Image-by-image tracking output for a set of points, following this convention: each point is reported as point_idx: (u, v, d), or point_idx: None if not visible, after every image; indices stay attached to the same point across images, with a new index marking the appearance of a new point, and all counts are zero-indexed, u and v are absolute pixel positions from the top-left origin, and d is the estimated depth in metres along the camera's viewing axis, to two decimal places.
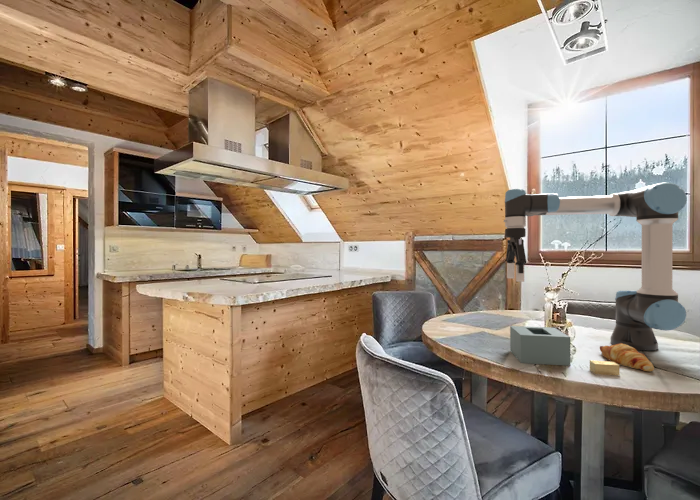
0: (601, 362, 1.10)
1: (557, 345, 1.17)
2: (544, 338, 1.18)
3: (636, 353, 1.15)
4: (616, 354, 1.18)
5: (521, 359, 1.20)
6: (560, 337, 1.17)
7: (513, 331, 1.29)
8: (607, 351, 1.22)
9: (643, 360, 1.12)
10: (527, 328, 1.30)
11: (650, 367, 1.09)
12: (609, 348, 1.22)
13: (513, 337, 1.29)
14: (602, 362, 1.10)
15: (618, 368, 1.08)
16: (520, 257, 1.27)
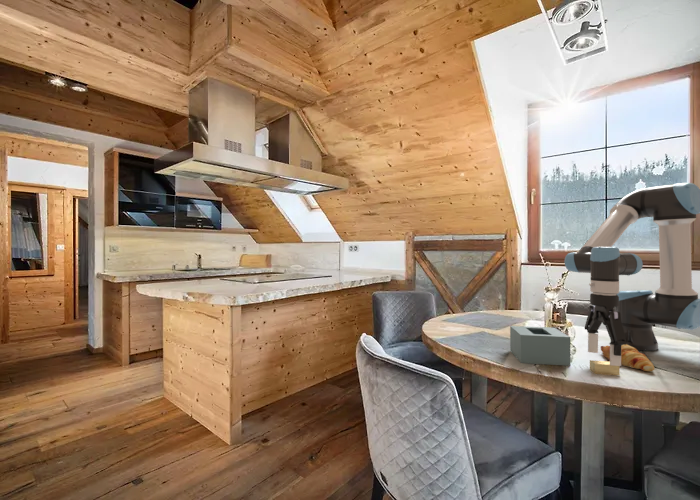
0: (601, 362, 1.10)
1: (557, 345, 1.17)
2: (544, 338, 1.18)
3: (637, 353, 1.15)
4: None
5: (521, 359, 1.20)
6: (560, 337, 1.17)
7: (513, 331, 1.29)
8: (608, 351, 1.22)
9: (643, 360, 1.12)
10: (527, 328, 1.30)
11: (650, 367, 1.09)
12: None
13: (513, 337, 1.29)
14: (602, 362, 1.10)
15: (618, 368, 1.08)
16: (618, 336, 1.01)
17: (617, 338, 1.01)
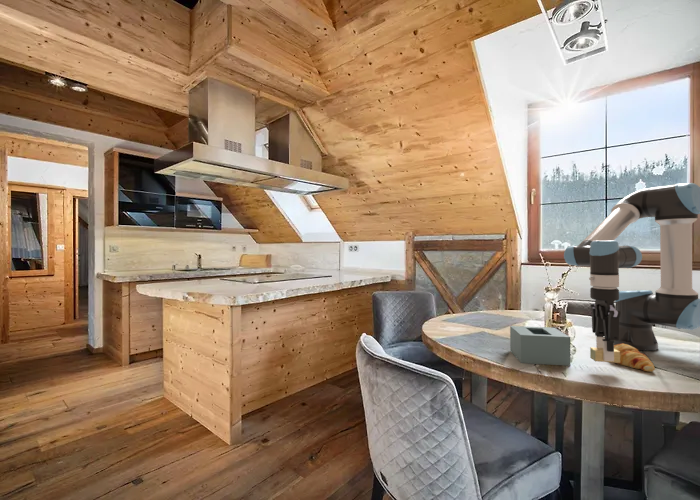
0: (602, 349, 1.10)
1: (557, 345, 1.17)
2: (544, 338, 1.18)
3: (637, 353, 1.15)
4: None
5: (521, 359, 1.20)
6: (560, 337, 1.17)
7: (513, 331, 1.29)
8: None
9: (644, 360, 1.11)
10: (527, 328, 1.30)
11: (651, 367, 1.09)
12: None
13: (513, 337, 1.29)
14: None
15: (618, 355, 1.08)
16: (612, 334, 1.05)
17: (610, 336, 1.05)
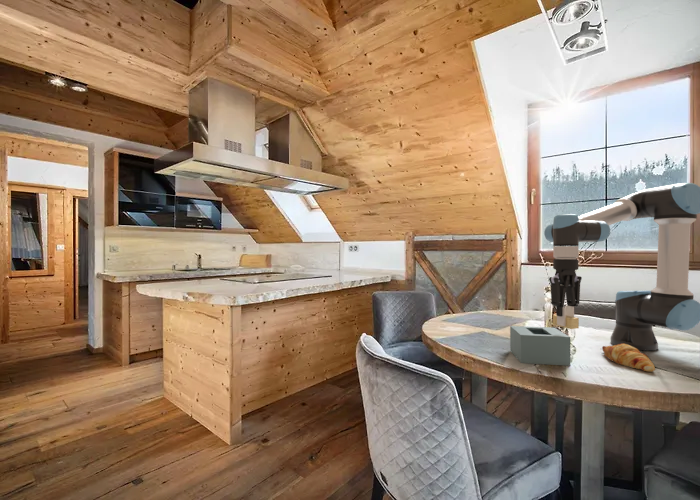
0: None
1: (557, 345, 1.17)
2: (544, 338, 1.18)
3: (637, 353, 1.15)
4: (618, 354, 1.18)
5: (521, 359, 1.20)
6: (560, 337, 1.17)
7: (513, 331, 1.29)
8: (609, 351, 1.22)
9: (644, 360, 1.11)
10: (527, 328, 1.30)
11: (651, 367, 1.09)
12: (611, 348, 1.22)
13: (513, 337, 1.29)
14: None
15: (570, 321, 1.15)
16: (552, 299, 1.17)
17: (551, 300, 1.17)
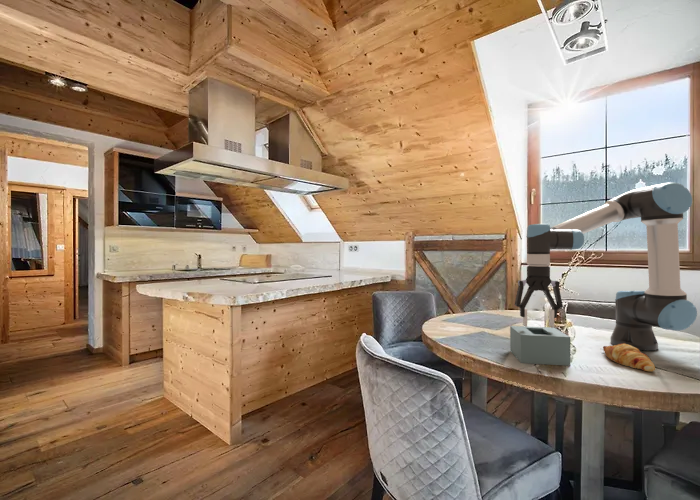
0: None
1: (557, 345, 1.17)
2: (544, 338, 1.18)
3: (638, 353, 1.15)
4: (618, 354, 1.18)
5: (521, 359, 1.20)
6: (560, 337, 1.17)
7: (513, 331, 1.29)
8: (609, 351, 1.22)
9: (644, 360, 1.11)
10: (527, 328, 1.30)
11: (651, 367, 1.09)
12: (611, 348, 1.22)
13: (513, 337, 1.29)
14: None
15: None
16: (515, 300, 1.27)
17: (515, 301, 1.27)
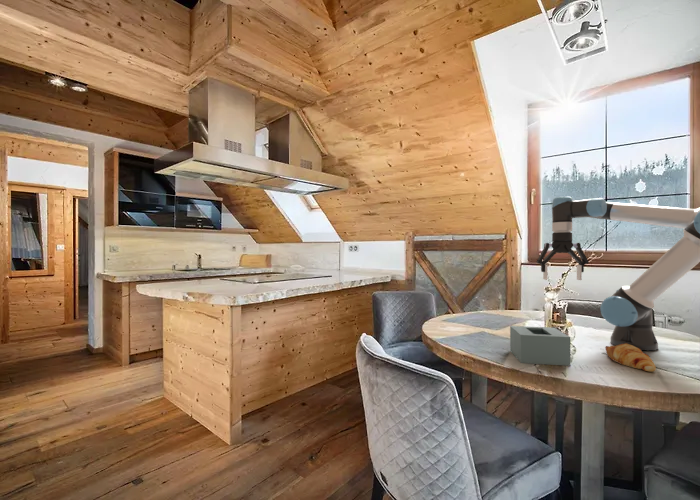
0: None
1: (557, 345, 1.17)
2: (544, 338, 1.18)
3: (639, 353, 1.14)
4: (619, 354, 1.18)
5: (521, 359, 1.20)
6: (560, 337, 1.17)
7: (513, 331, 1.29)
8: (611, 351, 1.22)
9: (645, 360, 1.11)
10: (527, 328, 1.30)
11: (651, 367, 1.09)
12: (613, 348, 1.22)
13: (513, 337, 1.29)
14: None
15: None
16: (538, 258, 1.52)
17: None
